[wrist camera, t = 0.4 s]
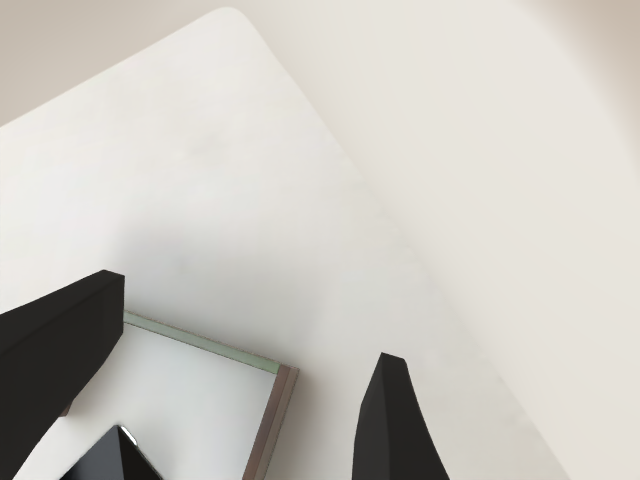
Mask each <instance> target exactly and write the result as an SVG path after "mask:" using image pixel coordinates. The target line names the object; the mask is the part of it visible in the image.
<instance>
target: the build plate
mask: <svg viewBox="0 0 640 480" xmlns="http://www.w3.org/2000/svg"><path fill="white" fill-rule="evenodd" d="M60 480H163V479H162V478H161V477H160V476H159V474H158V473H157V472H156V471H155V469H154V468H153V467H152V466H151V465H150V463H149V462H148V461H147V460H146V458H145V457H144V456H143V455H142V454H141V452H140V451H139V450H138V449H137V444H136V441H135V440H134V438H133V437H132V436H131V435H130V433H129V432H128V431H127V430H126V429H125V428H124V427H120V426H118V425H115V426H113V427H112V428H111V429H110V430H109V431H108V432H107V433H106V434H105V435H104V436H103V437H102V438H101V439H100V440H99V441H98V442H97V443H96V444H95V445H94V446H93V447H92V448H91V449H90V450H89V451H88V452H87V453H86V454H85V455H84V456H83V457H82V458H81V459H80V460H79V461H78V462H77V463H76V464H75V465H74V466H73V467H72V468H71V469H70V470H69V471H68V472H67V473H66V474H65V475H64V476H63V477H62V478H61V479H60Z"/></svg>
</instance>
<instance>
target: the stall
mask: <svg viewBox="0 0 640 480" xmlns="http://www.w3.org/2000/svg"><path fill="white" fill-rule="evenodd" d="M123 322H125V323H128V324H131V325H134V326H137V327H140V328H143V329H146V330H149V331H152V332H154V333H157V334H160V335H163V336H166V337H169V338H172V339H175V340H178V341H181V342H184V343H187V344H189V345H192V346H195V347H198V348H201V349H204V350H207V351H210V352H213V353H216V354H219V355H222V356H224V357H227V358H230V359H233V360H236V361H239V362H242V363H245V364H248V365H251V366H254V367H256V368H259V369H262V370H265V371H268V372H271V373H274V374H277V377H276V380H275V383H274V386H273V389H272V392H271V395H270V398H269V401H268V404H267V407H266V410H265V413H264V416H263V419H262V421H261V424H260V427H259V430H258V433H257V436H256V439H255V442H254V445H253V448H252V451H251V454H250V457H249V460H248V463H247V466H246V469H245V472H244V475H243V478H242V480H264V477H265V474H266V471H267V468H268V465H269V462H270V459H271V456H272V452H273V449H274V446H275V443H276V440H277V437H278V434H279V431H280V428H281V425H282V422H283V419H284V416H285V412H286V409H287V406H288V403H289V400H290V397H291V394H292V391H293V388H294V385H295V382H296V379H297V376H298V372H299V369H298V368H295V367H292V366H289V365H286V364H283V363H280V362H277V361H274V360H271V359H268V358H265V357H262V356H259V355H256V354H253V353H250V352H247V351H245V350H242V349H239V348H236V347H233V346H230V345H227V344H224V343H221V342H218V341H215V340H212V339H209V338H206V337H203V336H200V335H197V334H194V333H191V332H188V331H186V330H183V329H180V328H177V327H174V326H171V325H168V324H165V323H162V322H159V321H156V320H153V319H150V318H147V317H144V316H141V315H138V314H135V313H132V312H129V311H127V310H124V319H123ZM71 403H72V402H71ZM71 403H70V404H69V405H68V407H67V408H66V409H65V410H64V411H63V413H62V414H61V415H60V416H59V417H64V416H66V415H67V413H68V410H69V408H70V406H71Z"/></svg>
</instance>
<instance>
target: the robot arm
mask: <svg viewBox="0 0 640 480" xmlns="http://www.w3.org/2000/svg"><path fill="white" fill-rule="evenodd" d="M124 283H125V276H124V275H121V274H117V273H114V272H111V271H107V270H101V271H99V272H96V273H94V274H92V275H90V276H87V277H85V278H83V279H81V280H79V281H76V282H74V283H72V284H70V285H68V286H66V287H63V288H61V289H59V290H57V291H55V292H52V293H50V294H48V295H46V296H43V297H41V298H39V299H37V300H34V301H32V302H30V303H28V304H25V305H23V306H20V307H18V308H15V309H13V310H10V311H8V312H5V313H3V314H0V480H12V479H13V478H14V476H15V475H16V474H17V472H18V471H19V469H20V468H21V466H22V465H23V463H24V462H25V461H26V459H27V458H28V456H29V455H30V453H31V452H32V450H33V449H34V447H35V446H36V445H37V443H38V442H39V441H40V439H41V438H42V437H43V436H44V434H45V433H46V432H47V430H48V429H49V428H50V427H51V426H52V424H53V423H54V422H55V421H56V420H57V419H58V417H59V416H60V415H61V414H62V413H63V411H64V410H65V409H66V408H67V407H68V405H69V404H70V403H71V402H72V401H73V400H74V398H75V397H76V396H77V395H78V394H79V392H80V391H81V390H82V389H83V388H84V387H85V385H86V384H87V383H88V382H89V380H90V379H91V378H92V377H93V376H94V374H95V373H96V372H97V371H98V370H99V368H100V367H101V366H102V365H103V363H104V362H105V360H106V359H107V357H108V356H109V354H110V353H111V351H112V350H113V348H114V346H115V345H116V343H117V342H118V340H119V338H120V337H121V335H122V334H123V319H124ZM352 480H450V479H449V477H448V475H447V473H446V470H445V468H444V466H443V464H442V462H441V460H440V457H439V455H438V453H437V451H436V448H435V446H434V444H433V441H432V439H431V437H430V434H429V432H428V429H427V426H426V424H425V421H424V418H423V416H422V413H421V410H420V407H419V404H418V401H417V398H416V395H415V392H414V389H413V386H412V382H411V379H410V375H409V371H408V368H407V363H406V362H405V360H404V359H403V358H399V357H396V356H393V355H389V354H386V353H383V352H381V355H380V357H379V360H378V363H377V365H376V368H375V370H374V373H373V375H372V378H371V381H370V383H369V386H368V388H367V391H366V393H365V396H364V399H363V401H362V404H361V408H360V413H359V419H358V424H357V430H356V435H355V441H354V454H353V468H352Z"/></svg>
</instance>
